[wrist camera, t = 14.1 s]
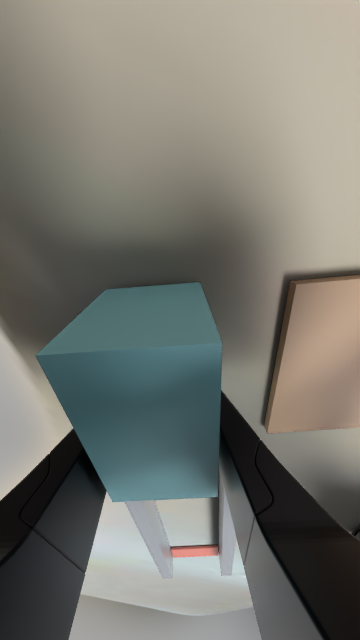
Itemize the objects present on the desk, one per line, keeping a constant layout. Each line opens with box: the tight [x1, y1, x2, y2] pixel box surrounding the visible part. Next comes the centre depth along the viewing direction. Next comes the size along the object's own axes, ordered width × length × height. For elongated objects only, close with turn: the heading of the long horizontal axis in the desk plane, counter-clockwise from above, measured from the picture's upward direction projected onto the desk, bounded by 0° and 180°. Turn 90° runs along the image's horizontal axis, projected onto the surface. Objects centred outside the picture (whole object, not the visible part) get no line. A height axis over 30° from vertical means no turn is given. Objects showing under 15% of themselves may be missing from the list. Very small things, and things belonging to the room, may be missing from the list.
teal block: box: [35, 282, 222, 502], centre depth 8 cm, size 4×7×4 cm, turn 4°
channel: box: [125, 469, 236, 578], centre depth 19 cm, size 8×24×2 cm, turn 5°
